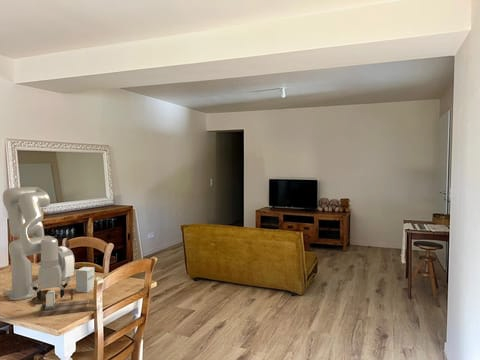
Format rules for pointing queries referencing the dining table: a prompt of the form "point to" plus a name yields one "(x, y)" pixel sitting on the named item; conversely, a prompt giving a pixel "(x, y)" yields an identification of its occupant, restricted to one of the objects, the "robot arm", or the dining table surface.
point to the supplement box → (85, 279)
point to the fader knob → (50, 300)
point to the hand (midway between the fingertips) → (50, 298)
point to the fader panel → (68, 308)
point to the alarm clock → (66, 261)
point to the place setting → (43, 297)
